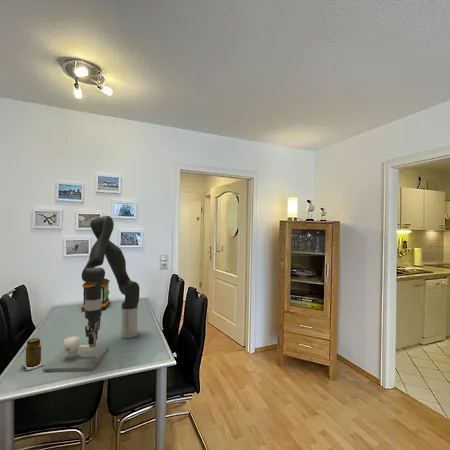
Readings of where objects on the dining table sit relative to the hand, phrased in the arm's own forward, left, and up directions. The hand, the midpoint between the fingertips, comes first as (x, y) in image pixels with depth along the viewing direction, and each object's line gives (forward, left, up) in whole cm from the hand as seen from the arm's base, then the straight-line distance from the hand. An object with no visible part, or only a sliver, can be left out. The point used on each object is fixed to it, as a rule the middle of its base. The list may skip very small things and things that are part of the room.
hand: (93, 341), depth 140 cm
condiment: (+5, -26, -9) cm, 28 cm away
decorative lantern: (-90, -32, -9) cm, 96 cm away
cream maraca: (0, -6, -4) cm, 7 cm away
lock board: (0, -7, -9) cm, 11 cm away
